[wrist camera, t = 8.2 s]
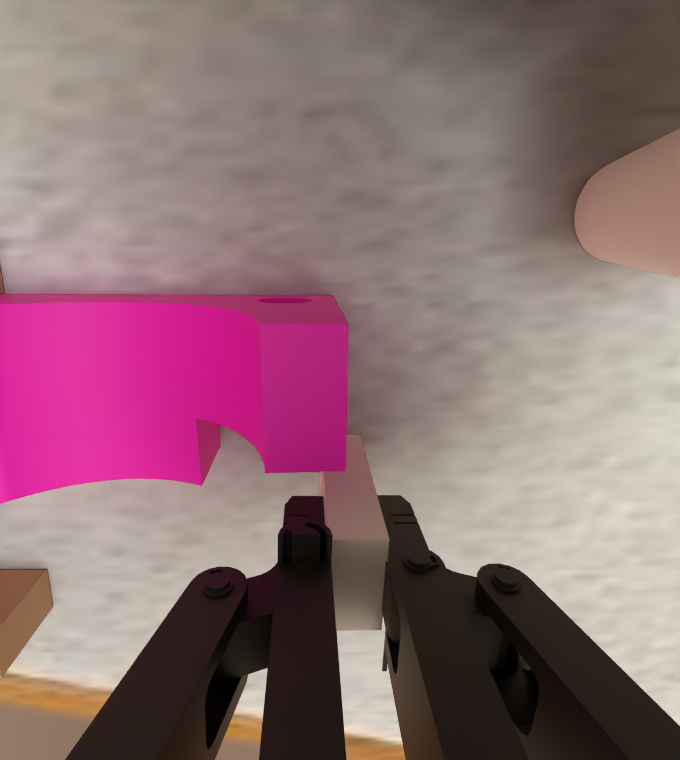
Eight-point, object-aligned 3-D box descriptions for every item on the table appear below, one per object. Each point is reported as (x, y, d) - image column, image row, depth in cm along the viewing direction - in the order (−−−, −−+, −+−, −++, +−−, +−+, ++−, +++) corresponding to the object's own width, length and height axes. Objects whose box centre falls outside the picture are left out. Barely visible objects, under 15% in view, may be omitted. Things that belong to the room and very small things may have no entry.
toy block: (-37, 448, 18) (-264, 576, 11) (-74, 293, 16) (-372, 323, 9) (331, 442, 19) (344, 555, 12) (331, 294, 17) (347, 323, 10)
